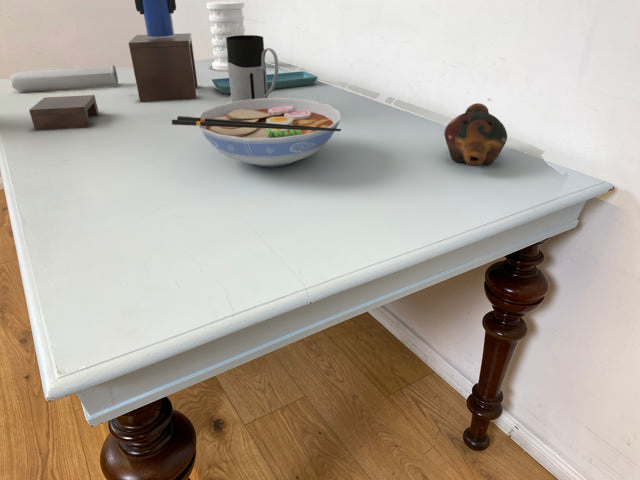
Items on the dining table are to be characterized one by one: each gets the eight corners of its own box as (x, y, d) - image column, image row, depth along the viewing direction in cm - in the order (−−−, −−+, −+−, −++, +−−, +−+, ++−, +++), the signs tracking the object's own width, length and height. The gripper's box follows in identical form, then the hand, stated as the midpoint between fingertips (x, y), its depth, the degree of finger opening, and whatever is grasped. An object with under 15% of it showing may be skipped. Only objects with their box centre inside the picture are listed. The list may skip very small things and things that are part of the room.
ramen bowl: (356, 142, 87) (358, 96, 82) (333, 194, 67) (334, 137, 63) (226, 134, 91) (221, 90, 87) (169, 181, 72) (160, 127, 68)
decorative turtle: (494, 145, 84) (505, 100, 80) (507, 185, 72) (521, 134, 68) (438, 139, 86) (446, 95, 81) (441, 178, 73) (451, 128, 69)
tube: (5, 78, 118) (113, 71, 123) (8, 67, 121) (113, 61, 126) (14, 97, 122) (118, 90, 127) (17, 86, 125) (118, 79, 130)
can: (145, 37, 109) (138, -8, 105) (148, 33, 114) (141, -9, 110) (173, 36, 110) (166, -8, 106) (174, 33, 115) (168, -10, 111)
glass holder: (254, 104, 110) (248, 33, 102) (295, 116, 101) (293, 40, 94) (222, 111, 105) (214, 37, 97) (263, 125, 96) (257, 45, 88)
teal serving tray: (304, 78, 133) (304, 69, 132) (318, 85, 126) (318, 75, 125) (212, 89, 123) (210, 79, 122) (222, 96, 116) (221, 86, 115)
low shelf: (35, 130, 94) (28, 109, 92) (49, 116, 103) (44, 97, 101) (88, 126, 96) (83, 106, 94) (99, 113, 104) (94, 94, 102)
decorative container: (204, 67, 148) (196, 3, 139) (233, 62, 156) (227, 0, 147) (229, 72, 142) (222, 4, 133) (257, 66, 150) (253, 2, 140)
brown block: (139, 101, 113) (128, 42, 106) (146, 89, 124) (136, 35, 117) (196, 98, 115) (188, 40, 108) (197, 86, 126) (190, 33, 119)
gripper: (179, -73, 106) (190, 11, 114) (110, -73, 104) (127, 13, 112) (176, -75, 100) (188, 14, 108) (104, -75, 97) (121, 16, 106)
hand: (157, 13), depth 110 cm, fingers closed on can, 6 cm apart
